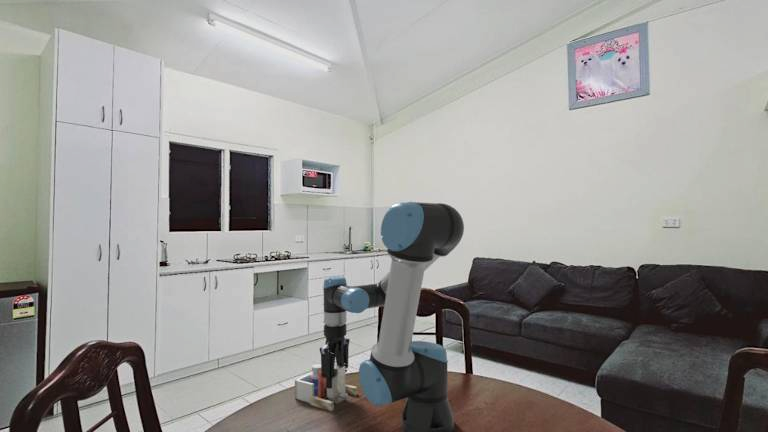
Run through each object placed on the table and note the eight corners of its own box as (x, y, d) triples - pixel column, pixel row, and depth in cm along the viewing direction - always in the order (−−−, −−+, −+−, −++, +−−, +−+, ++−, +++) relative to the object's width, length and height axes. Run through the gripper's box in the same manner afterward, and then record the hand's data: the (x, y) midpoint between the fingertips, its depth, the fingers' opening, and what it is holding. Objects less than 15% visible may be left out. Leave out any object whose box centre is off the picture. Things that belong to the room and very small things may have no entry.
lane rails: (357, 394, 132) (357, 387, 132) (331, 411, 120) (331, 403, 120) (336, 388, 137) (336, 382, 137) (309, 404, 125) (309, 397, 125)
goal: (334, 389, 136) (334, 372, 136) (311, 403, 126) (311, 384, 126) (318, 385, 140) (318, 368, 140) (294, 398, 129) (294, 380, 130)
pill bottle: (306, 396, 131) (306, 367, 131) (316, 390, 136) (316, 362, 136) (319, 399, 128) (318, 369, 129) (329, 393, 133) (328, 364, 134)
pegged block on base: (352, 399, 129) (351, 365, 129) (341, 406, 123) (340, 371, 124) (329, 393, 133) (329, 361, 134) (318, 399, 128) (318, 366, 129)
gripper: (341, 317, 138) (341, 383, 138) (309, 328, 124) (309, 402, 123) (358, 319, 134) (359, 387, 134) (327, 331, 120) (328, 407, 119)
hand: (335, 394), depth 128 cm, fingers closed on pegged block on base, 4 cm apart
